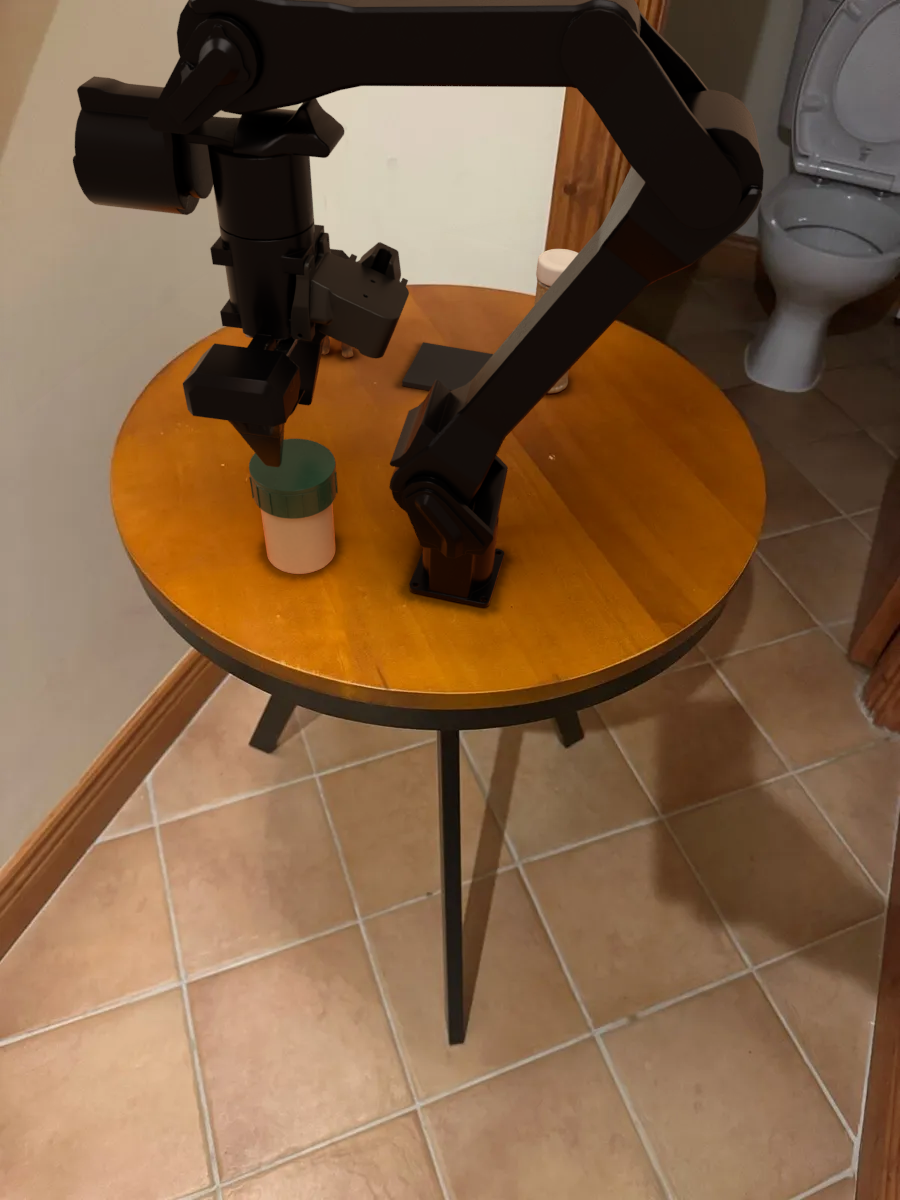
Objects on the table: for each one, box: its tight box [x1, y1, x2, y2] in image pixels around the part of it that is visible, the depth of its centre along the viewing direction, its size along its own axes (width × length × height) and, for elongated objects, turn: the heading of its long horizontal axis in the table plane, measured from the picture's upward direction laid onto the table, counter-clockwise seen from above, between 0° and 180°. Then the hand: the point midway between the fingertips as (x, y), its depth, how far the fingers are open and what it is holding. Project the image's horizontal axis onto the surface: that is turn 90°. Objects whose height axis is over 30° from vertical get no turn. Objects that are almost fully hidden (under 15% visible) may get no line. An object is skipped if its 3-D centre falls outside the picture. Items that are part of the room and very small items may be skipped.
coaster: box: [401, 342, 494, 392], centre depth 94 cm, size 8×8×1 cm
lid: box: [248, 438, 339, 519], centre depth 69 cm, size 6×6×3 cm
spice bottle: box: [533, 248, 579, 394], centre depth 89 cm, size 5×5×13 cm
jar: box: [260, 502, 337, 575], centre depth 71 cm, size 6×6×8 cm
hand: (289, 433), depth 66 cm, fingers open, 7 cm apart
